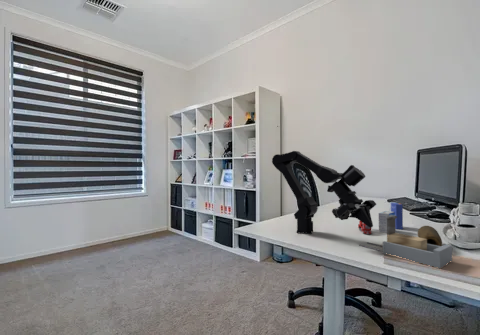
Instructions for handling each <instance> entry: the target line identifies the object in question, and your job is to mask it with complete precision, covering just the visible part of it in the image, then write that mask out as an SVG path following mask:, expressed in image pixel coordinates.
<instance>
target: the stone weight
mask: <svg viewBox="0 0 480 335" xmlns="http://www.w3.org/2000/svg"><path fill="white" fill-rule="evenodd" d="M417 237H419V238H424V239H427V244H432V245H437V246H443V240H442V238H441V236H440V234H439V231H437V229H436V228H434V227H432V226H430V225H423V226H420V228H418V230H417Z"/></svg>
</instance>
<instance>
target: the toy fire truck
mask: <svg viewBox="0 0 480 335" xmlns="http://www.w3.org/2000/svg"><path fill="white" fill-rule="evenodd" d="M358 222H359V224H358V227H357V228H358V230H359V231H360V232H362V234H365V235H371V234H372V228H370V227H368V226H367V225H365V224H364V223H363V222H361V221H360V220H359V221H358Z"/></svg>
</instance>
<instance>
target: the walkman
mask: <svg viewBox="0 0 480 335" xmlns="http://www.w3.org/2000/svg"><path fill="white" fill-rule="evenodd" d="M388 205H389V210H388V211H391V212H395V216H397V218H396V230H403V229H404V228H403V227H404V225H403V223H404V220H403V217H404V214H403V204H402V203H399V202H396V201H395V202H394V201H393V202H392V201H391V202H389V204H388Z"/></svg>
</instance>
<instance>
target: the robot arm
mask: <svg viewBox="0 0 480 335" xmlns="http://www.w3.org/2000/svg"><path fill="white" fill-rule="evenodd" d="M271 159H272V160H271V163H272V165H273V166H274V167H275V168H276V170H277V171H278V172H280V173H281V174H282V175H283V178H284V180H285V182H287V184H288V186H289V188H290V189H291V191H292V193H293V195H294V197H295V199H296V204H297V206H296V207H297V209H298V210H297V211H295V213H293V216H294V219H295V220H296V224H297V225H296V233H297V234H313V232H314V221H312V218H314V217H315V214H316V213H317V212H318V208H319V207H318V203H317V202H316V201H315V198H314V197H313V196H311V195H310V196H309V195H308V194H306V191H305V190H304V188H303V186H302V185H301V183H300V181H299V180H298V178H297V177H296V175H295V173H294V172H293V169H292V163H293V162H296V163H299V164H300V165H301V166H302V167H304V168H306V169H308V170H310V171H311V172H313V173H314V174H315V176H316V177H317V178H318V179H319V180H320V181H321V182H322V183H323V184H331V183H332V184H331V185H327V192H328V193H334V194H335V195H336V196H337V198H338V199H339V200H338V204H339V206H338V207H337V208H333V209H332V210H331V213H332V215H333V217H334V218H336V219H339V220H341V221H344V220H349V218H353V219H354V218H355V219H357V220H359V221H361V222H363V223H364V224H365V225H367V226H368V227H370V228H371V229H372V228H373V227H374V224H373V220H372V216H371V210H372V209H373V208H374V207H376V206H377V203H376V202H375V200H373V199H367V200H365V201H364V200H363V199H362V198H361V199H360V198H358V196H357V195H356V194H357V191H356V190H352V189H351V188H350V187H356V186H357V185H358V184H359V183H360V182H361V181H363V180H364V179H365V178H366V175H365V173H364V172H363V171H362V170H361V169H359V168H358V167H355V166H354V165H352V164H351V165H349V166H348V168H347V169H346V170H345V171H344V172H338V171H337V170H335V169H334V168H330V167H328V166H325V165H321V164H320V163H318V162H316V161H314V160H313V159H311V158H310V157H308V156H306V155H305V154H303V153H302V152H300V151H297V150H292V151H289V152H286V153H282V154H279V153H278V154H274V155H273V157H272V158H271Z"/></svg>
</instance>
